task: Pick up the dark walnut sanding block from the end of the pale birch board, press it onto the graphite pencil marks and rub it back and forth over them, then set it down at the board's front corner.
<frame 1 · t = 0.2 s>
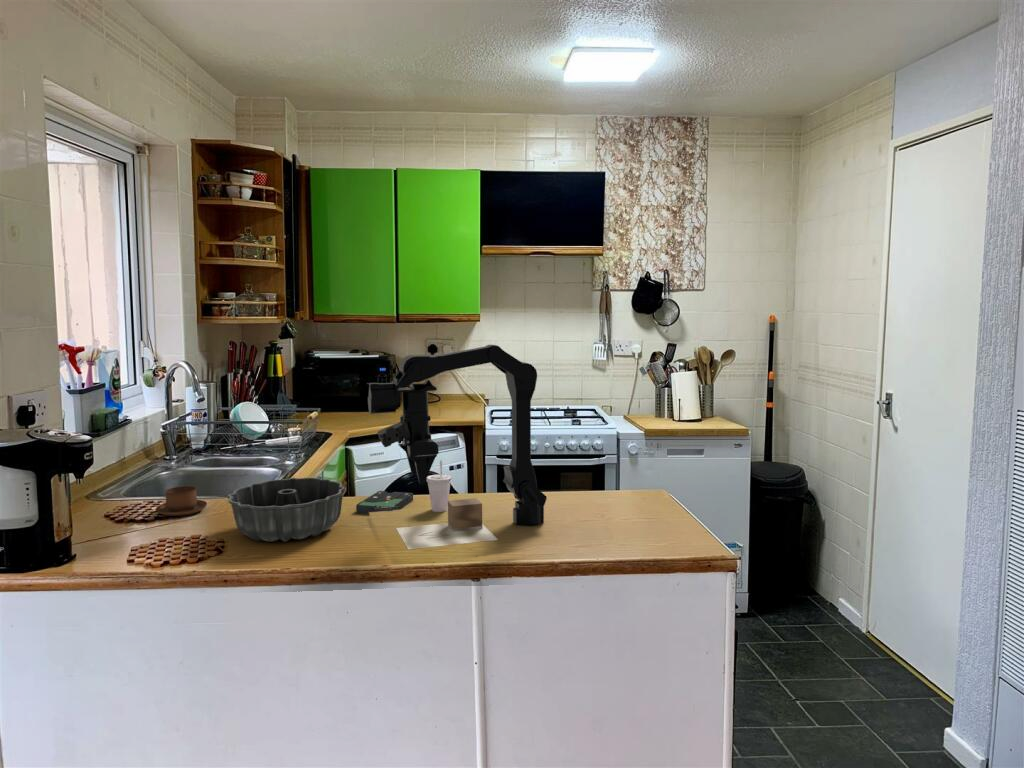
hand: (417, 479, 168), 14 cm above the table, tool pointing down, fingers open, 9 cm apart
disk drive: (385, 509, 196), on the table
cup and saucer: (182, 513, 192), on the table
smoothie: (439, 515, 189), on the table
bundt pan: (288, 532, 176), on the table
sanding block: (465, 527, 174), point 1 cm above the table, touching birch board
birch board: (445, 538, 169), on the table
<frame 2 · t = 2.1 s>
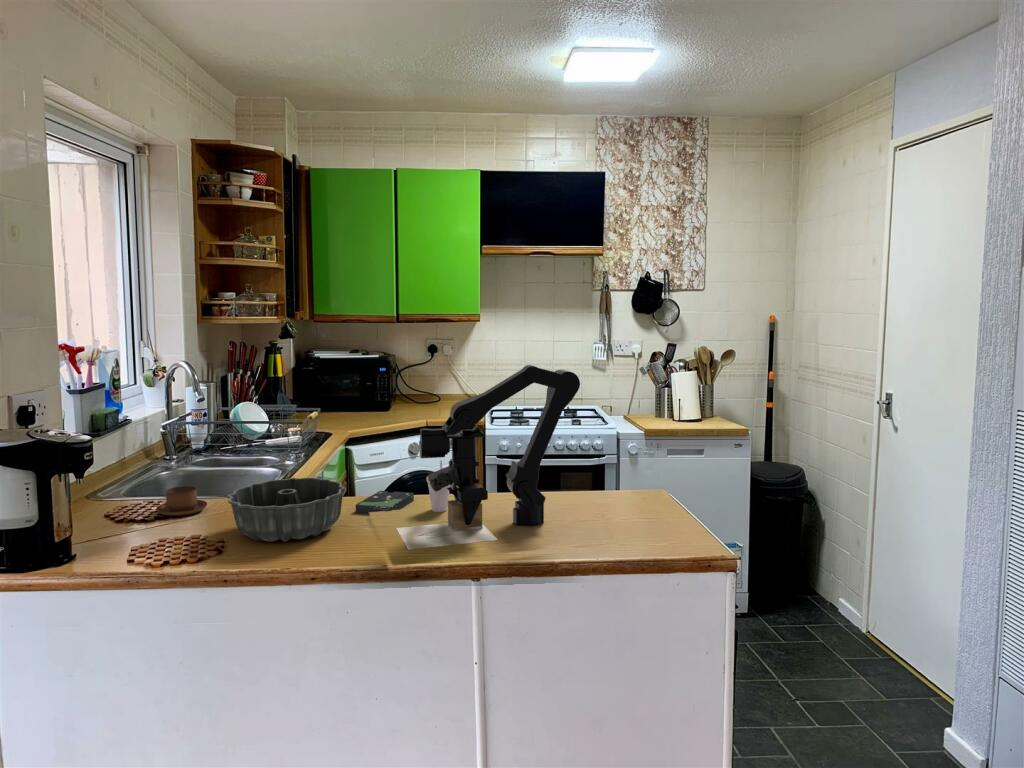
hand: (465, 521, 174), 3 cm above the table, tool pointing down, fingers closed on sanding block, 5 cm apart
sanding block: (465, 527, 174), point 1 cm above the table, touching birch board, gripper
everything else where it was.
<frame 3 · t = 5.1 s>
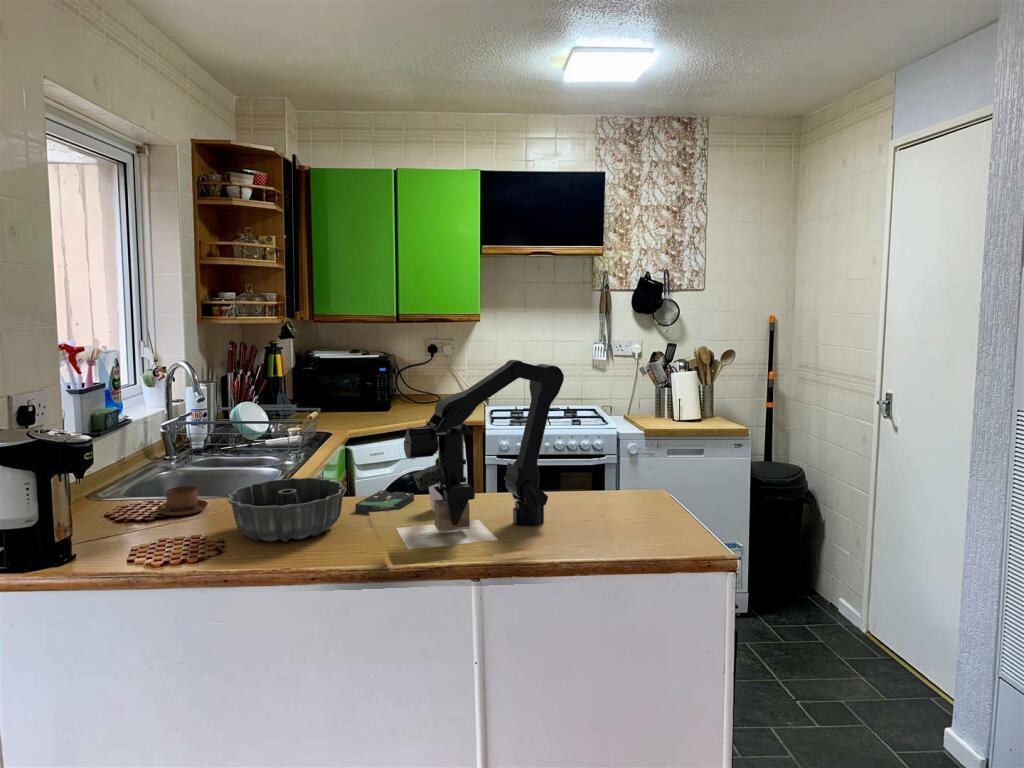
hand: (452, 521, 169), 4 cm above the table, tool pointing down, fingers closed on sanding block, 5 cm apart
sanding block: (452, 527, 169), point 3 cm above the table, touching gripper
everything else where it was.
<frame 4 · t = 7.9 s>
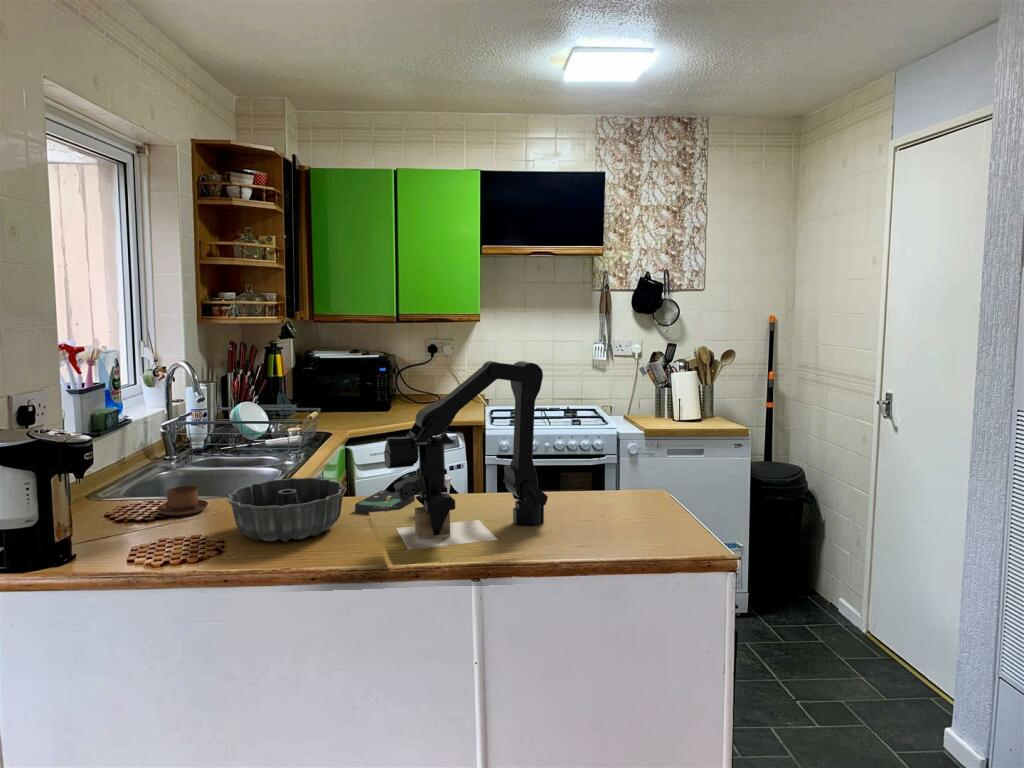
hand: (433, 531, 168), 2 cm above the table, tool pointing down, fingers closed on sanding block, 5 cm apart
sanding block: (432, 534, 168), point 1 cm above the table, touching gripper
everything else where it was.
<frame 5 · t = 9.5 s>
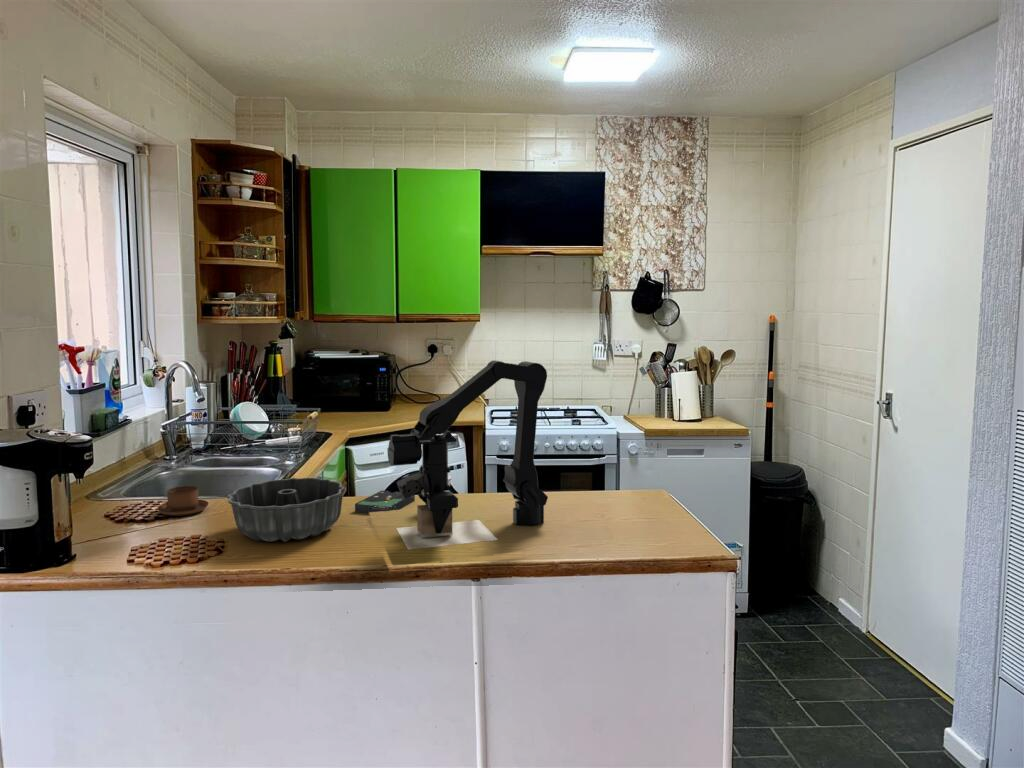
hand: (435, 529, 168), 2 cm above the table, tool pointing down, fingers closed on sanding block, 5 cm apart
sanding block: (434, 533, 168), point 2 cm above the table, touching gripper
everything else where it was.
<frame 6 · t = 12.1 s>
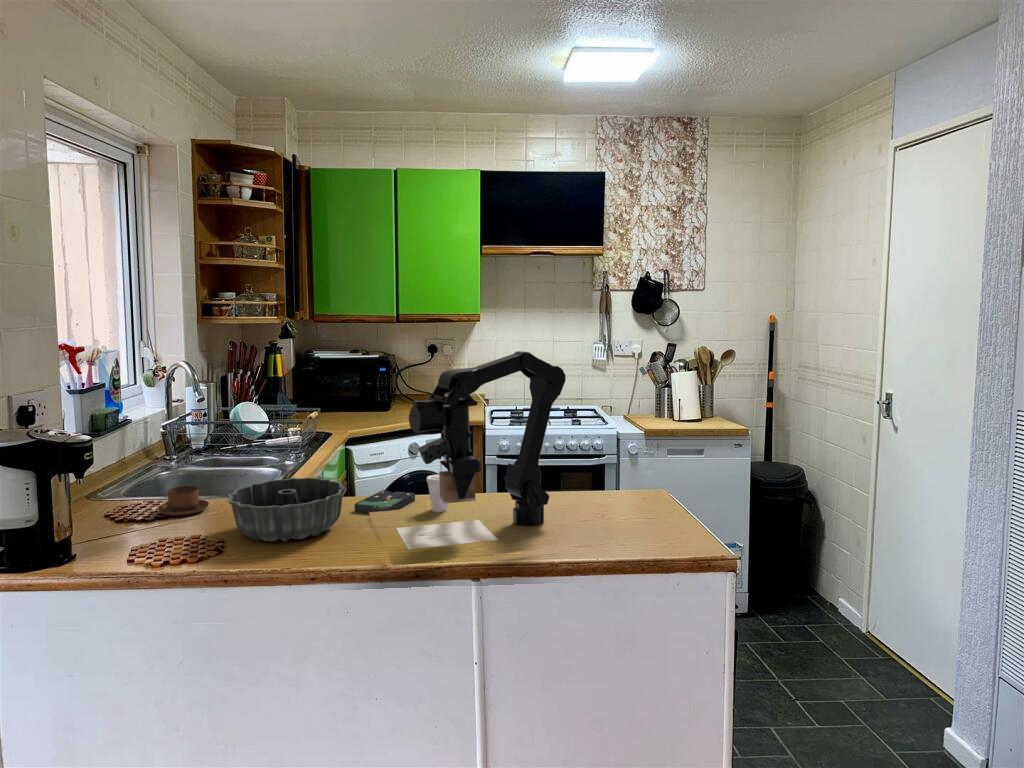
hand: (458, 495, 166), 11 cm above the table, tool pointing down, fingers closed on sanding block, 5 cm apart
sanding block: (457, 499, 166), point 10 cm above the table, touching gripper
everything else where it was.
when the fingers open (3 cm above the table, at t = 14.2 s): sanding block drops 2 cm, resting on birch board.
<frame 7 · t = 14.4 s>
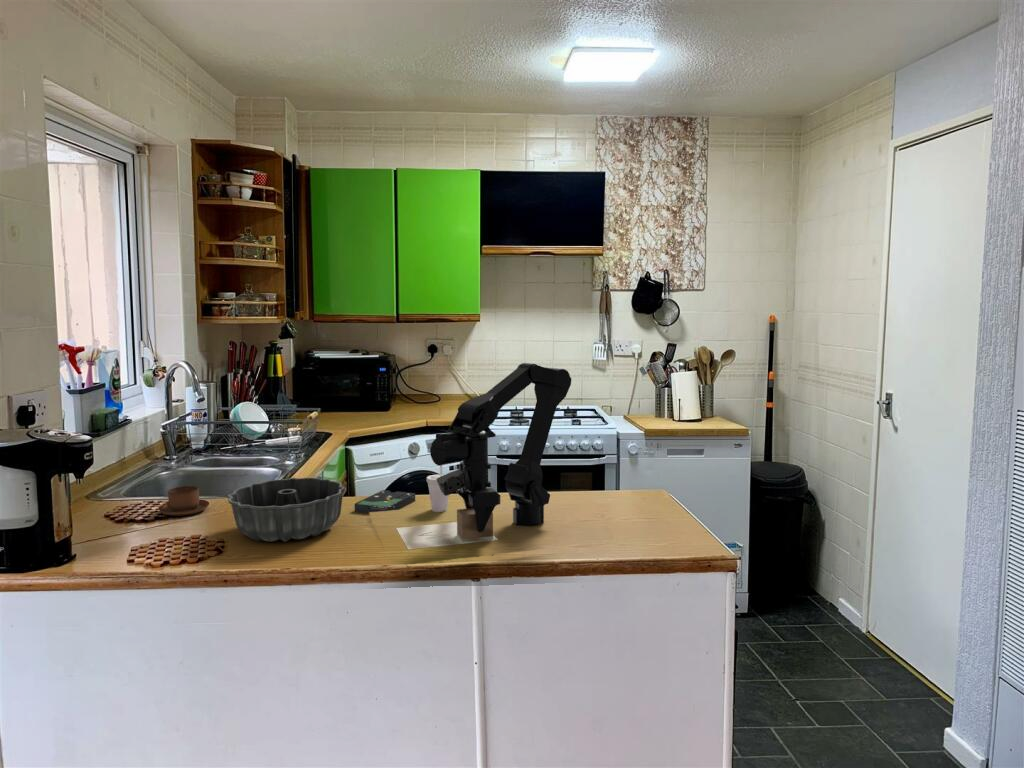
hand: (476, 526, 166), 3 cm above the table, tool pointing down, fingers open, 7 cm apart
sanding block: (475, 537, 166), point 1 cm above the table, touching birch board
everything else where it was.
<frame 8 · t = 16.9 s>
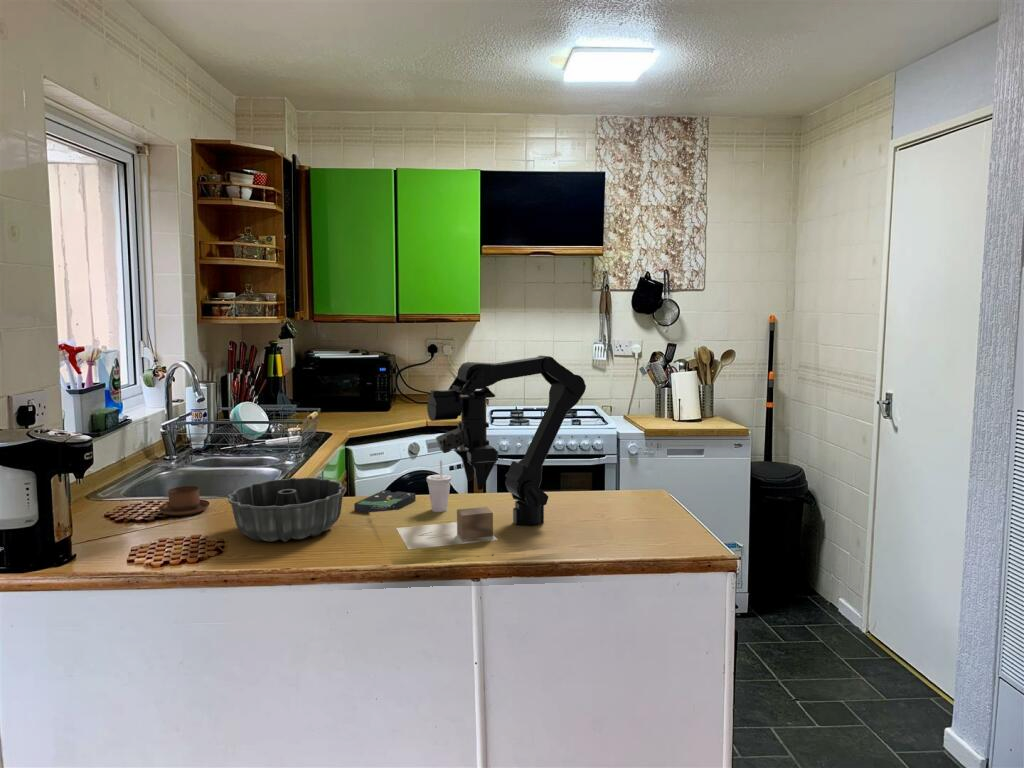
hand: (474, 485, 170), 12 cm above the table, tool pointing down, fingers open, 9 cm apart
nothing on the table moved.
at the end: sanding block inside the target area on the birch board (0.3 cm from its centre), point 1.2 cm above the birch board's base; sanding block tilted 0°; the gripper is holding nothing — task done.
